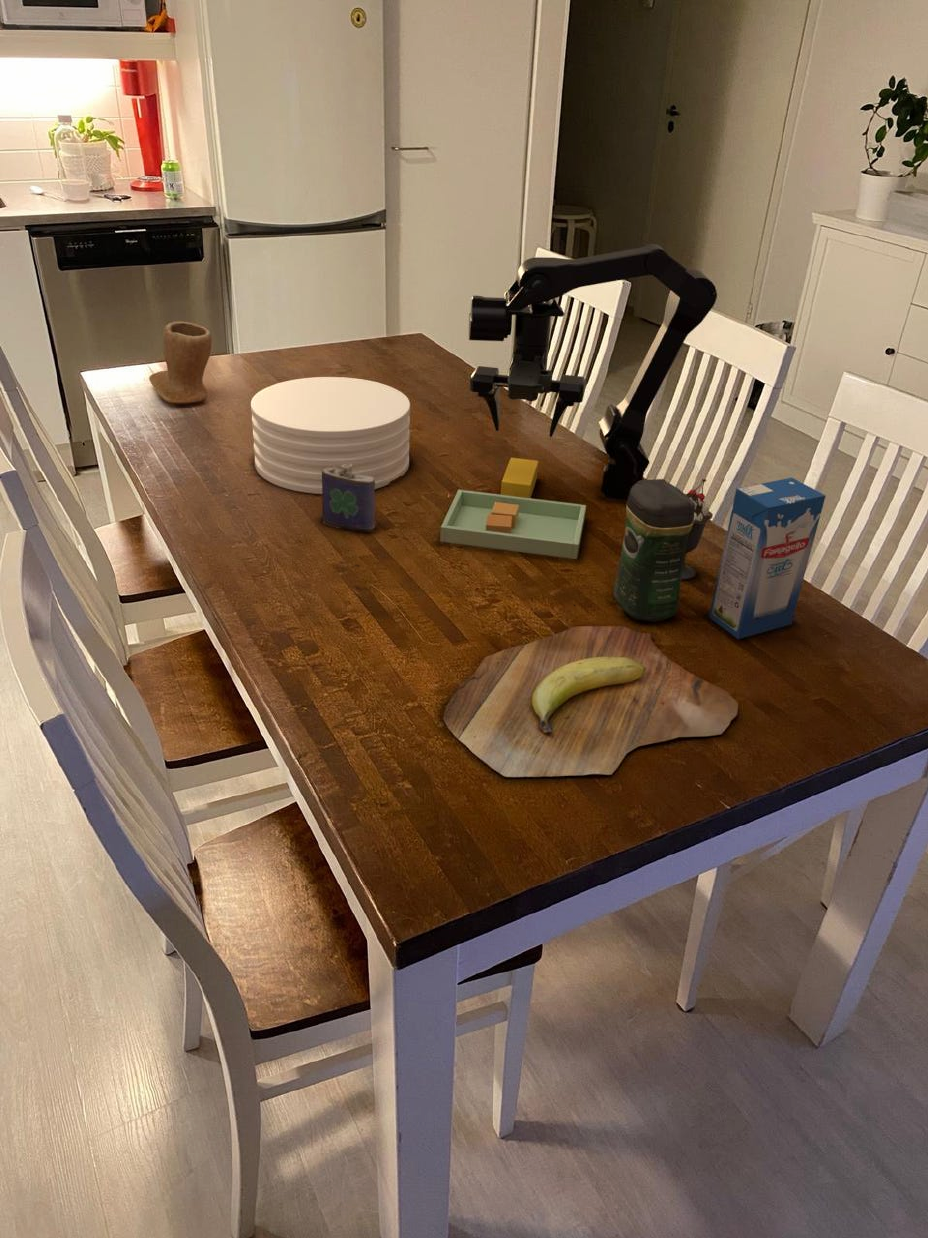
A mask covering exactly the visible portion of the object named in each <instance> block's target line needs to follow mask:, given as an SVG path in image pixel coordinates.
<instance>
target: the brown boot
mask: <svg viewBox="0 0 928 1238" xmlns="http://www.w3.org/2000/svg"><path fill="white" fill-rule="evenodd" d="M212 342H213V341H212V334H211V332H210V331H209V330H208V328H205V327H204V326H202V325H199V324H195V323H192V322H187V321H172V322H169V323H167V324H166V325H165V327H164V329H163V333H162V353H163V357H164V360H165V361H164V362H165V364H166V368H167V370H161V371H157V372H154V373H152V374H151V375H149V377H148V381H149V382H150V384H151V385H152V387H153V388H154V390H155V392H157V393H156V394H158V395H159V396H160V397H161V398H162V399H163V400H164V401H166V402H168V403H172V404H193V403H198V402H202V401H206V400H207V399H208V397H209V392H208V389H207V387H206V386H205V384H204V382H203V378H204V374H205V369H206V367H207V364H208V361H209V359H210V356H211V352H212Z"/></svg>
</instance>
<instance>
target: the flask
mask: <svg viewBox="0 0 928 1238" xmlns="http://www.w3.org/2000/svg"><path fill="white" fill-rule="evenodd" d="M341 467H342V468H343V469H342V470H339V469H337V468H335V467H332V468H326V469H324V470H323V471H322V494H321V496H322V497H321V499H322V500H321V512H322V513H321V514H322V515H321V516H322V523H323V524H325V525H327V526H330V527H335V528H337V529H342V530H343V529H345V530H347V531H352V532H359V533H367V534H368V533H373V531H374V529H375V528H376V515H375V512H376V505H375V504H376V502H375V499H376V497H375V493H376V489H375V480H374V478H373V477H371V476H364V475H357V474H352V473H351V471H352V470H351V468H352V467H353V465H352V464H351V463H349V465H347V464H343V465H342V466H341Z"/></svg>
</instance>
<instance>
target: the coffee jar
mask: <svg viewBox="0 0 928 1238" xmlns="http://www.w3.org/2000/svg"><path fill="white" fill-rule="evenodd" d="M686 494H687V493H685V492H684V491H682V490H681V489H679V488H678V487H677V486H675V485H673V484H672V483H670V482H668V481H666V479H664V478H654V479H643V480H641V481H638V482H637V483H636V484H635V485H634V486H633V487H632V488H631V490H630V493H629V497H628V500H626V501H627V502H626V505H625V506H626V507H625V528H624V535H623V541H622V545H621V552H620V557H619V562H618V567H617V571H616V575H615V580H614V587H613V597H614V600H615V601H616V603H617V604H618V606H619V607H620V608H621V609H622V610H623V611H624V612H625V613H626V614H627V616H629V617H630V618H632V619H634V620H638V621H643V622H644V621H645V622H650V623H651V622H653V623H654V622H661V621H664V620H667V619H670V618H672V617H673V616H675V615H676V613H677V610H678V604H679V599H680V591H681V583H682V579H681V576H682V569H683V563H684V557H685V550H686V545H687V540H688V536H689V533H690V531H691V529H692V526H693V523H694V512H695V503H694V502H693V501H692V500H691V499H690V498H689V497H688V496H687V495H686ZM685 558H686V557H685Z"/></svg>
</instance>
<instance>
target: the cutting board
mask: <svg viewBox="0 0 928 1238" xmlns="http://www.w3.org/2000/svg"><path fill="white" fill-rule="evenodd" d="M651 636H652V633H651V632H640V631H638V630H635V629H632V628H629V627H627V626H624V625H583V626H582V625H581V626H570V627H569V628H568V629H565V630H562V631H560V632H557V633H556V634H553V635H550V636H547V637H544V638H540V639H538V640H535V641H531V642H528V643H524V644H520V645H516V646H513V647H509V648H506V649H502V650H499V651H497V652H495V653H493V654H490V655H489V654H488V655H487V656H484V658H483V659H482V661H481V662H480V664H479V665H478V667H477V668H476V670H475V672H474V673H473V674H472V675H471V676H470V677H468V678H467V679H466V680H464V681H463V682H462V683H461V684H460V685H458V687H457V688H456V690H455V692H454V693H453V694H452V696H451V698H450V699H449V701H448V703H447V705H446V706H445V708H444V713H443V718H442V719H443V722H444V724H445V725H446V727H447V729H448V730H449V731H450V732H451V734H452V735H453V736H454V737H455V738H456V739H457V740H459V741H460V742H461V743H462V744H463V745H465V746H466V748H468V750H469V751H470V752H471V753H472V754H474V755H475V756H476V757H477V758H479V759H480V761H482V762H484V763H485V764H486V765H487V766H489V767H490V768H491V769H492V770H494V771H496V772H497V773H499V774H500V775H501V776H503V777H505V778H525V777H526V778H531V777H532V778H540V777H565V776H567V777H568V776H571V777H572V776H588V775H606V776H609V775H610V776H611V775H613V773H614V772H615V771H616V770H617V769H618V767H619V766H620V764H621V763H622V761H623V760H624V758H625V757H626V756H627V754H628V753H630V752H632V751H633V750H635V749H636V748H638V747H641V746H646V745H647V746H648V745H651V744H658V743H663V742H667V741H670V740H674V739H677V738H693V737H695V738H696V737H697V738H698V737H715V736H720V735H723V733H724V732H725V731H726V729H727V728H728V727H729V726H730V724H731V721H732V720H733V719H735V718H736V717H737V715H738V712H739V711H738V710H739V703H738V701H737V700H735V698H734V697H732V695H731V694H730V693H728V691H727V690H725V689H723V688H722V687H719V686H717V685H715V684H713V683H711V682H708V681H707V680H705V679H703V678H701V677H700V676H697V675H696V674H693V673H692V672H690V671H688V670H686V669H685V668H684V667H682V666H680V665H679V664H677V663H676V662H674V661H673V660H671V659H670V658H668V657H667V656H666V655H665V654H664V653H663V652H662V650H661V649H660V648H658V646H656V645H655V644H654V642H653V641H652V637H651Z"/></svg>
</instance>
